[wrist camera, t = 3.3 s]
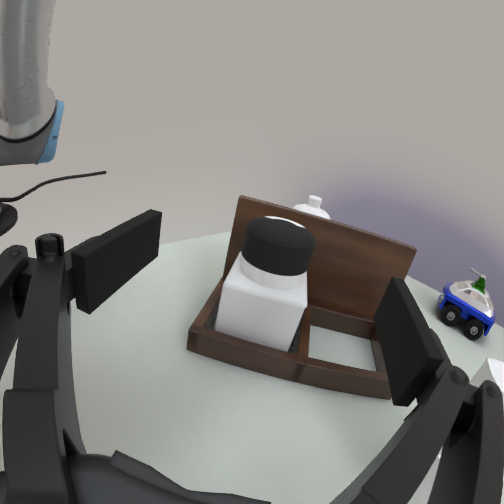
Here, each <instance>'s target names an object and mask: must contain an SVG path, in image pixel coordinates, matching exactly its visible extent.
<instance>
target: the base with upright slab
mask: <svg viewBox="0 0 504 504" xmlns="http://www.w3.org/2000/svg"><path fill="white" fill-rule="evenodd" d="M485 380H490V381H492V382H494V383H496V384H497V385H498V386H499V387H500V390H501V391H502V395H503V406H504V362H500V361H497V360H494V359H491V358H487V359H486V361H485V362H484V363H483V365H482V366H481V367H480V369H479V370H478V372H477V373H476V374H475V375H474V377H473V378H472V379H471V381H470V382H469V384H471V385H473V386H476V387H478V388H479V386H480V385H481V384H482V383H483V382H484V381H485ZM442 448H443V446H442ZM442 448H441V450H440V452H439V454H438V455H437V457H436V459H435V461H434V463H433V464H432V466H431V468H430V470H429V471H428V473H427V475H426V476H425V478H424V480H423V481H422V483H421V484H420V486H419V487H418V489H417V490H416V492H415V493H414V495H413V496H412V498H411V499H410V501H409V502H408V504H427V502H428V499H429V496H430V493H431V490H432V486H433V483H434V480H435V476H436V473H437V469H438V465H439V461H440V457H441V452H442ZM503 480H504V477H503Z"/></svg>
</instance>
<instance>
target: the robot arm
mask: <svg viewBox="0 0 504 504" xmlns="http://www.w3.org/2000/svg"><path fill="white" fill-rule="evenodd" d="M54 6H55V0H0V166H5V165H17V164H33V163H34V164H39V163H44V162H50V161H51V160H52V159H53V158H54V156H55V152H56V146H57V139H58V134H59V129H60V124H61V119H62V114H63V108H64V103H63V101H59V100H55V96H54V93H53V91H52V90H51V89H50V88H49V87H48V86H47V68H48V52H49V41H50V32H51V24H52V18H53V11H54ZM102 174H106V171H102V172H95V173H88V174H80V175H72V176H65V177H60V178H55V179H51V180H47V181H44V182H42V183H40V184H38V185H36V186H35V187H33V188H31V189H29V190H28V191H26V192H25V193H23V194H21V195H19V196H17V197H13V198H0V203H2V202H14V201H18V200H20V199H22V198H24V197H25V196H27V195H28V194H30V193H32V192H33V191H35V190H36V189H38V188H39V187H41V186H44V185H46V184H49V183H53V182H57V181H62V180H67V179H75V178H82V177H90V176H96V175H102ZM1 216H2V213H1V205H0V218H1ZM161 218H162V212H159V211H155V210H152V209H150V210H148V211H146V212H144V213H142V214H140V215H138V216H136V217H134V218H132V219H130V220H128V221H126V222H124V223H122V224H120V225H119V226H117V227H115V228H113V229H111V230H109V231H107V232H105V233H103V234H102V235H99V236H95V237H92V238H90V239H88V240H86V241H84V242H82V243H80V244H79V245H77V246H75V247H73V248H71V249H70V250H68V251H66V252H64V243H63V236H61V235H59V234H55V233H49V234H44V235H41V236H39V237H37V238H36V239H35V245H36V254H37V259H36V258H30V257H28V252H27V248H26V247H25V246H21V245H14V246H11V247H9V248H7V249H6V250H5V251H3V252H2V253H1V255H0V380H1V377H2V374H3V372H4V369H5V366H6V364H7V361H8V359H9V356H10V354H11V352H12V349H13V347H14V345H15V342H16V340H17V338H18V344H17V351H16V359H15V368H14V379H13V389H12V390H9V389H7V390H6V391H5V392H4V397H3V419H2V434H3V457H4V469H5V471H0V504H271V502H268V501H262V500H257V499H252V498H248V497H243V496H239V495H235V494H226V493H210V492H199V491H191V490H187V489H185V488H183V487H181V486H180V485H178V484H176V483H175V482H173V481H172V480H170V479H169V478H167V477H166V476H164V475H163V474H161V473H160V472H158V471H157V470H155V469H154V468H153V467H151V466H149V465H147V464H144V463H142V462H140V461H138V460H136V459H134V458H131V457H129V456H127V455H125V454H123V453H121V452H119V451H117V450H116V451H115V452H114V454H113V456H112V457H110V456H106V455H100V454H87V453H86V450H85V447H84V444H83V441H82V438H81V433H80V428H79V422H78V415H77V408H76V400H75V392H74V382H73V370H72V353H71V305H70V301H71V300H72V299H74V298H76V305H77V309H79V310H81V311H83V312H85V313H87V314H89V315H90V314H91V313H92V312H93V311H94V310H95V309H96V308H98V307H99V306H100V305H101V304H102V303H103V302H104V301H105V300H107V299H108V298H109V297H110V296H111V295H112V294H114V293H115V292H116V291H117V290H118V289H119V288H120V287H122V286H123V285H124V284H125V283H126V282H127V281H129V280H130V279H131V278H132V277H133V276H135V275H136V274H137V273H138V272H139V271H140V270H142V269H143V268H144V267H145V266H146V265H148V264H149V263H150V262H151V261H153V260H154V259H155V258H156V257H157V256H158V249H159V238H160V227H161ZM373 320H374V324H375V327H376V331H377V335H378V339H379V343H380V347H381V351H382V355H383V359H384V363H385V368H386V372H387V376H388V381H389V386H390V391H391V396H392V401H393V405H396V406H406V407H408V406H409V405H410V404H411V403H412V401H413V400H414V399H415V398H416V399H417V403H418V405H417V406H416V407H415V408H414V409H413V410H412V411H411V413H410V414H409V415H408V416H407V417H406V418H405V419H404V421H405V422H404V423H403V424H402V426H401V427H400V428H399V429H398V431H397V432H396V433H395V435H394V436H393V437H392V438H391V440H390V441H389V442H388V443H387V444H386V446H385V447H384V448H383V449H382V450H381V452H380V453H379V454H378V455H377V456H376V457H375V459H374V460H373V461H372V462H371V463H370V464H369V465H368V466H367V467H366V468H365V469H364V471H363V472H362V473H361V474H360V475H359V476H358V477H357V478H356V479H355V480H354V481H353V482H352V483H351V484H350V485H349V486H348V487H347V488H346V489H345V490H344V491H343V492H342V493H341V494H339V495H338V496H337V497H336V498H335V499H334V500H333V501H332V502H331V503H330V504H408V502H409V501H410V499H411V498H412V496H413V495H414V493H415V492H416V490H417V489H418V487H419V486H420V484H421V483H422V481H423V480H424V478H425V476H426V475H427V473H428V471H429V470H430V468H431V466H432V464H433V463H434V461H435V459H436V457H437V455H438V454H439V452H440V450H441V448H442V446H443V448H442V452H441V457H440V461H439V465H438V469H437V473H436V476H435V480H434V483H433V486H432V490H431V493H430V496H429V499H428V502H427V504H500V503H501V495H502V487H503V477H504V406H503V395H502V391H501V390H500V387H499V386H498V385H497V384H496V383H494V382H492V381H490V380H485V381H484V382H483V383H482V384H481V385H480V386H479V388H478V387H476V386H473V385H471V384H469V378H468V376H467V374H466V373H465V372H464V371H463V370H462V369H460V368H458V367H457V366H453V365H452V364H451V362H450V360H449V358H448V356H447V353H446V351H445V350H444V347H443V345H442V344H441V341H440V339H439V337H438V335H437V334H436V333H435V332H434V331H433V330H432V329H430V328H429V326H428V324H427V322H426V320H425V318H424V316H423V314H422V313H421V311H420V309H419V307H418V305H417V303H416V301H415V299H414V298H413V296H412V294H411V292H410V290H409V289H408V287H407V285H406V283H405V282H404V280H403V279H399V278H396V277H393V276H392V277H391V279H390V282H389V284H388V286H387V288H386V291H385V293H384V295H383V297H382V299H381V301H380V303H379V306H378V308H377V310H376V312H375V314H374V316H373ZM18 336H19V337H18Z"/></svg>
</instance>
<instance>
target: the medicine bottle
mask: <svg viewBox="0 0 504 504" xmlns="http://www.w3.org/2000/svg"><path fill="white" fill-rule="evenodd" d="M315 244H316V240H315V238H314V236H313V234H312V233H311V232H310V231H308V230H307V229H306V228H305V227H303V226H302V225H300V224H298V223H296V222H294V221H291V220H288V219H284V218H280V217H273V216H265V217H258V218H255V219H253V220H251V221H250V222H249V223H248V224H247V228H246V233H245V237H244V242H243V246H242V251H241V252H240V253H239V255H238V256H237V258H236V260H235V262H234V264H233V266H232V268H231V270H230V272H229V274H228V276H227V278H226V279H225V281H224V283H223V287H222V293H221V298H220V303H219V308H218V313H217V318H216V324H215V329H214V330H215V331H218V332H221V333H224V334H227V335H230V336H234V337H237V338H240V339H243V340H247V341H250V342H253V343H257V344H260V345H264V346H267V347H271V348H275V349H278V350H282V351H286V352H289V350H290V348H291V346H292V343H293V341H294V338H295V336H296V333H297V331H298V328H299V326H300V323H301V321H302V318H303V316H304V313H305V310H306V308H307V269H308V266H309V263H310V260H311V257H312V253H313V250H314V247H315Z"/></svg>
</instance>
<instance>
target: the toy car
mask: <svg viewBox="0 0 504 504" xmlns="http://www.w3.org/2000/svg"><path fill="white" fill-rule="evenodd" d="M470 271H472V272H474V273H476V274H477V275H479V276H480V277H479V278H478V279H476V281H475V282H472V281H463V282H455V283H453V282H451V283H448V284H446V285H445V287H444V288H443V293H442V294H441V295H440V296H439V299H438V305H439V308H441V309H442V308H443V306H445V307H444V309H443V311H442V315H441V317H442V321H443V322H444V324H446V325H448V326H453V325H455V324H457V323H458V321H459V320H460V317H462V318H464V319H465V320H466V321H467V322H466V326H465V335H466V337H467V338H468V339H470V340H476V339H478V338H480V337H481V335H482V333H483V329H484V336H486V335H487V334H488V332H489V330H490V328H491V327H492V325H493V324H494V323H495V318H496V315H495V311H494V309H493V305H492V303H491V300H490V297H489V294H488V292H487V291H486V290H485V286H486V285H485V280H486V277H485V275H484V274H480V273H478V272H477V271H475V270H474V269H473V268H471V269H470Z"/></svg>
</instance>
